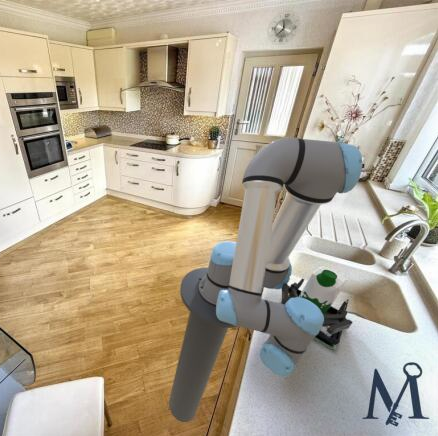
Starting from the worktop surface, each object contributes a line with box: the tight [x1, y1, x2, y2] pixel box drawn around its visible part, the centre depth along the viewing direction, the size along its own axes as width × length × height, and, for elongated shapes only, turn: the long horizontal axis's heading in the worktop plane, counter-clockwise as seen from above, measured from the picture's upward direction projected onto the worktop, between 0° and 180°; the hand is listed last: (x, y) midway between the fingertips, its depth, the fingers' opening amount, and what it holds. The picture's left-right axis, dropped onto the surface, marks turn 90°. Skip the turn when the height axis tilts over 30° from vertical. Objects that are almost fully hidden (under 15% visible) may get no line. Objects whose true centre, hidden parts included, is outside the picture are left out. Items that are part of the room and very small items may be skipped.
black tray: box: [288, 288, 349, 352], centre depth 84 cm, size 18×16×11 cm
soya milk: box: [299, 265, 348, 314], centre depth 81 cm, size 9×9×20 cm
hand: (321, 292), depth 78 cm, fingers open, 12 cm apart
